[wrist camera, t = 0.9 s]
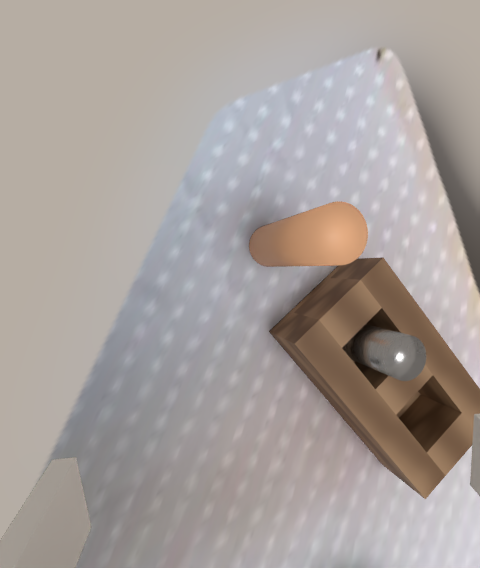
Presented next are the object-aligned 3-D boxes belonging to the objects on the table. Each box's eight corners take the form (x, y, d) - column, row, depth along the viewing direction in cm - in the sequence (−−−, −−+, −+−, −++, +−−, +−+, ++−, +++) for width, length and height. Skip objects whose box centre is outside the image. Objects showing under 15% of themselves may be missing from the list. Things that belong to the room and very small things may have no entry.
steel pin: (344, 362, 43) (404, 390, 33) (323, 337, 42) (378, 357, 32) (368, 338, 43) (434, 358, 34) (348, 312, 43) (409, 325, 33)
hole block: (382, 465, 46) (425, 499, 39) (269, 331, 41) (294, 343, 35) (447, 393, 48) (498, 414, 41) (345, 259, 43) (383, 257, 37)
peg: (266, 275, 41) (336, 278, 27) (240, 243, 40) (298, 229, 26) (295, 248, 42) (378, 237, 27) (271, 217, 41) (343, 188, 26)
